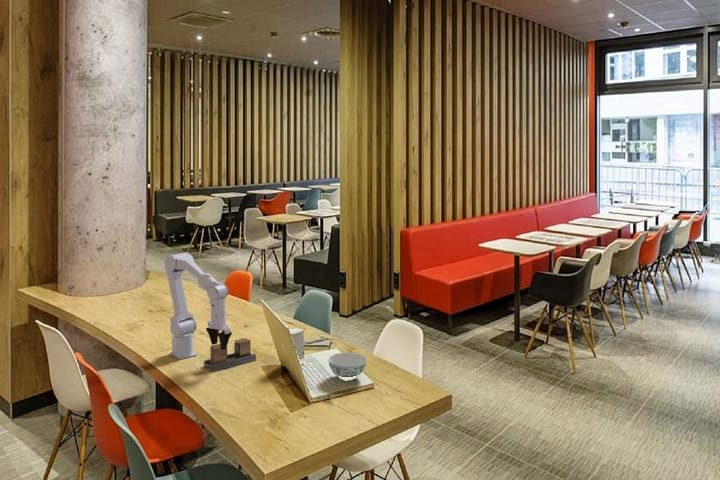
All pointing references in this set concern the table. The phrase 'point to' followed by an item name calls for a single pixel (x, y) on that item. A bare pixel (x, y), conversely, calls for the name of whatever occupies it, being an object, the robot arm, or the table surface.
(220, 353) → the walnut finger
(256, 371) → the table surface
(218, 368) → the rail
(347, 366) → the chinaware
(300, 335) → the skincare box
